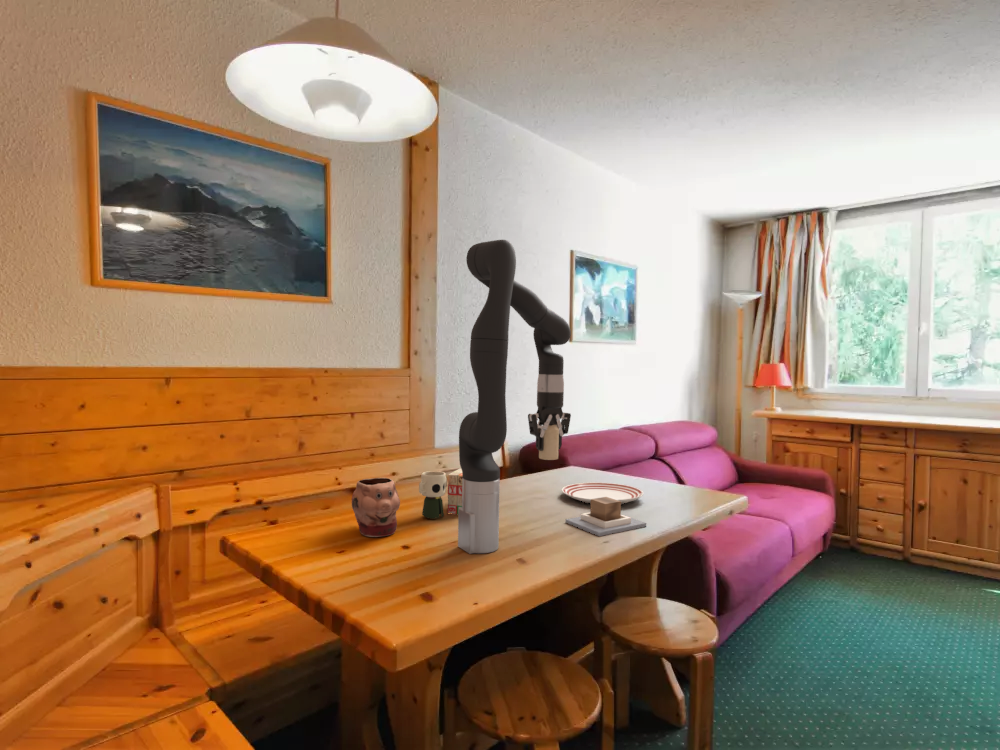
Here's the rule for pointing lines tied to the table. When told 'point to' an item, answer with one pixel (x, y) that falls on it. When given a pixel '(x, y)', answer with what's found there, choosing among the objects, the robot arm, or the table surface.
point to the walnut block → (605, 509)
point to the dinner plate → (602, 491)
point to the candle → (550, 443)
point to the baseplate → (604, 524)
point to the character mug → (433, 493)
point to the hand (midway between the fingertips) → (548, 449)
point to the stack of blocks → (455, 491)
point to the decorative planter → (376, 506)
